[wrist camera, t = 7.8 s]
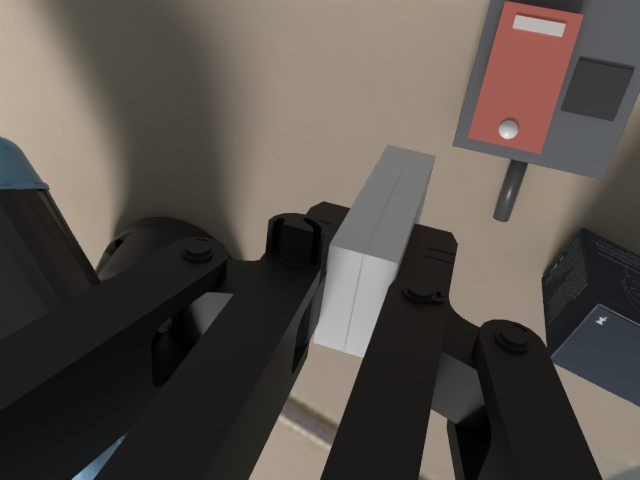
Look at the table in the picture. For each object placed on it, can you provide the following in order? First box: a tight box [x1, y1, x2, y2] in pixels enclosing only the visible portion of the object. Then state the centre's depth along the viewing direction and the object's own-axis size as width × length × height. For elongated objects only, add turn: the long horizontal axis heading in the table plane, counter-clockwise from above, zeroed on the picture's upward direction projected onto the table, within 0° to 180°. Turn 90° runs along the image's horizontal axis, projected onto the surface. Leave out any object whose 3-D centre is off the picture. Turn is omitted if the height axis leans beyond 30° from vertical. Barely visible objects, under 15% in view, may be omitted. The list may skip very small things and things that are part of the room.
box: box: [542, 229, 640, 407], centre depth 41 cm, size 8×6×11 cm
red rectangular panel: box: [468, 1, 584, 154], centre depth 34 cm, size 4×8×1 cm, turn 172°
